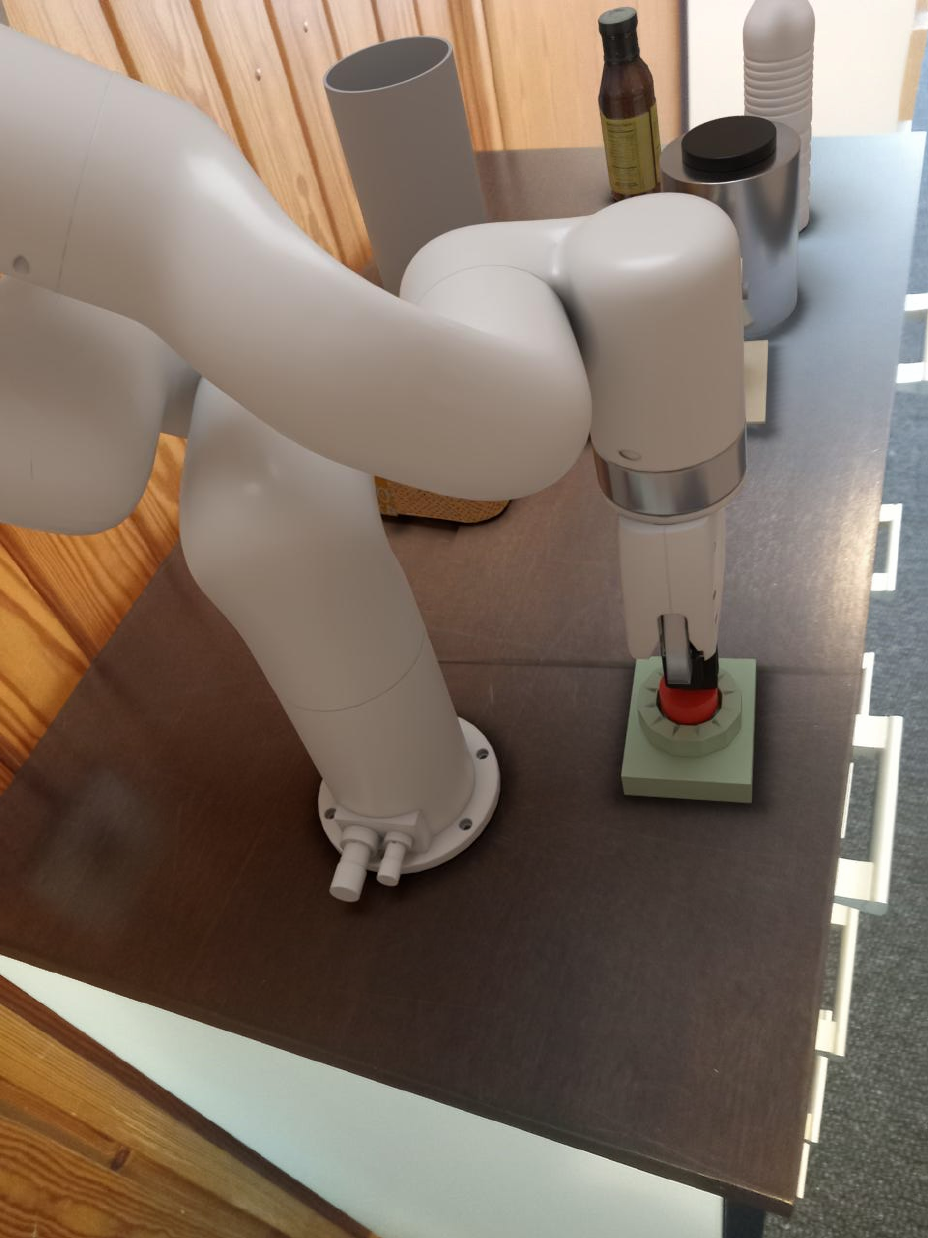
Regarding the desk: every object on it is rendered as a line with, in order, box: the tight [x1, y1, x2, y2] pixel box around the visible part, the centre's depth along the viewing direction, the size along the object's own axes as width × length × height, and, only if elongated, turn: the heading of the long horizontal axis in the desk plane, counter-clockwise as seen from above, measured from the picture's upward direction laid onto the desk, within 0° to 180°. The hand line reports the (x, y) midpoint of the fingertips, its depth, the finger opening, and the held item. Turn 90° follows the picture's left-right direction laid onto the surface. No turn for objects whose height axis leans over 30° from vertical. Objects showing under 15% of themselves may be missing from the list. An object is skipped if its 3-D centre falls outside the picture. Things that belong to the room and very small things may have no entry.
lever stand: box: [741, 258, 769, 426], centre depth 89 cm, size 12×9×12 cm
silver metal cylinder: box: [659, 114, 801, 338], centre depth 96 cm, size 14×12×17 cm
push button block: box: [620, 655, 757, 804], centre depth 68 cm, size 10×8×4 cm
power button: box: [659, 676, 718, 725], centre depth 66 cm, size 4×4×2 cm
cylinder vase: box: [322, 35, 489, 298], centre depth 105 cm, size 12×12×25 cm
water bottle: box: [742, 0, 816, 233], centre depth 101 cm, size 9×6×25 cm
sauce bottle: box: [597, 6, 662, 202], centre depth 114 cm, size 7×6×20 cm
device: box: [374, 475, 510, 524], centre depth 93 cm, size 23×8×30 cm
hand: (692, 678), depth 65 cm, fingers closed
